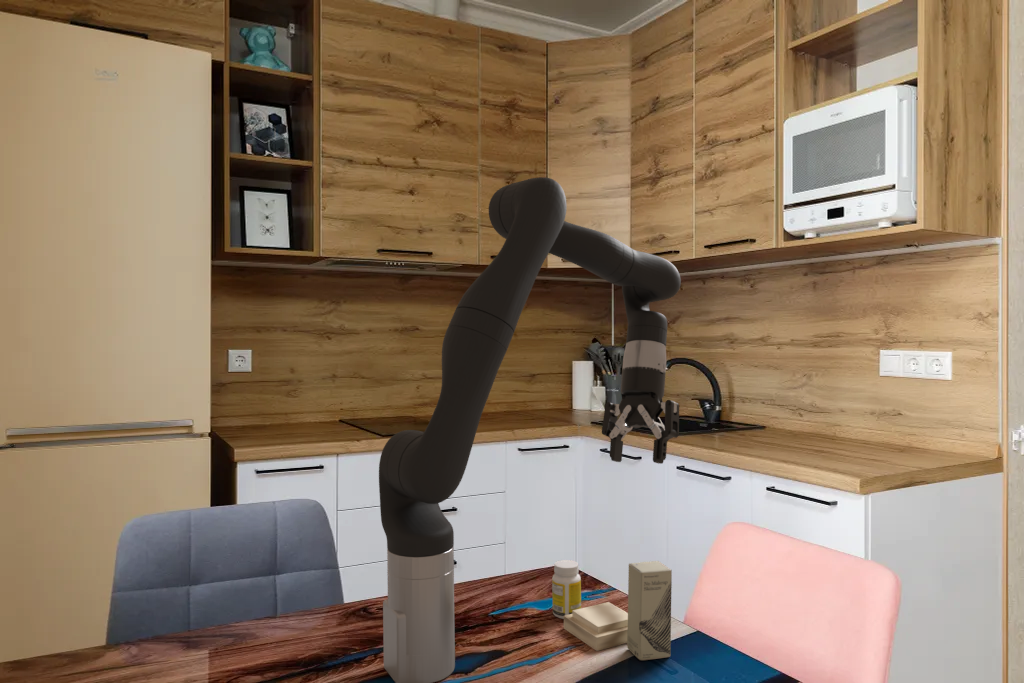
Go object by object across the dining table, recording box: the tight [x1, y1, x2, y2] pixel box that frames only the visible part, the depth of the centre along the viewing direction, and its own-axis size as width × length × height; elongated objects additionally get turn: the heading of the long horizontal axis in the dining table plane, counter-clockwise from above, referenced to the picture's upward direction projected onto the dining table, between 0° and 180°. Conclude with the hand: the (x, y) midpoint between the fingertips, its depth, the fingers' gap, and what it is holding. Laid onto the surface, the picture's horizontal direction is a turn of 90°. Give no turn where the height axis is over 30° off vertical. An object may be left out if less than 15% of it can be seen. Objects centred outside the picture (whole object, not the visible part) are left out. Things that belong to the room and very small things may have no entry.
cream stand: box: [563, 601, 628, 652], centre depth 110 cm, size 9×9×3 cm
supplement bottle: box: [551, 559, 582, 620], centre depth 118 cm, size 5×5×8 cm
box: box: [626, 560, 673, 661], centre depth 104 cm, size 5×4×13 cm
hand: (636, 462), depth 121 cm, fingers open, 8 cm apart
